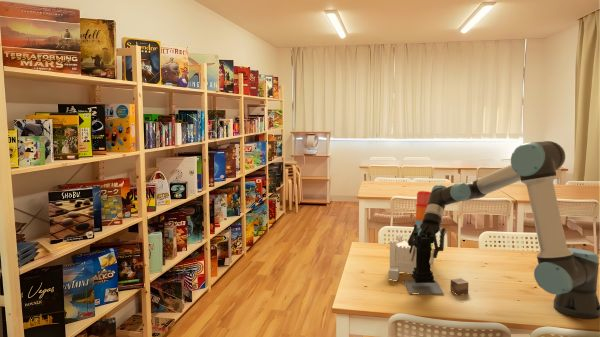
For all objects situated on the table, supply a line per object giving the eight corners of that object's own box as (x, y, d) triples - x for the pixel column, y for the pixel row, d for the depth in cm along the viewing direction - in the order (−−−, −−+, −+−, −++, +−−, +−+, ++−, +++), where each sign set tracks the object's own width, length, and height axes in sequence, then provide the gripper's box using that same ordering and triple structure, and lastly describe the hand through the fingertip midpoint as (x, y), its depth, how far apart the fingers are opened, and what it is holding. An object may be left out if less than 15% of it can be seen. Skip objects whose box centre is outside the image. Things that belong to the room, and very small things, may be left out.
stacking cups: (407, 257, 229) (408, 191, 225) (423, 254, 233) (424, 189, 229) (421, 263, 220) (422, 194, 215) (437, 260, 224) (438, 192, 220)
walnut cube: (468, 294, 183) (468, 282, 182) (457, 295, 181) (457, 283, 181) (460, 289, 188) (461, 278, 187) (450, 290, 186) (450, 279, 186)
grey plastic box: (397, 282, 197) (397, 271, 196) (388, 281, 198) (388, 270, 198) (399, 277, 202) (399, 266, 202) (390, 276, 204) (390, 265, 203)
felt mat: (443, 294, 182) (443, 293, 182) (409, 294, 183) (409, 292, 183) (436, 281, 196) (436, 280, 196) (403, 281, 197) (403, 280, 197)
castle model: (388, 271, 210) (388, 241, 208) (396, 262, 222) (397, 233, 220) (418, 276, 203) (419, 244, 201) (425, 266, 215) (426, 236, 214)
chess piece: (434, 282, 185) (436, 236, 183) (415, 282, 185) (416, 236, 183) (429, 275, 193) (430, 231, 191) (411, 275, 193) (412, 231, 191)
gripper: (458, 224, 193) (447, 270, 182) (412, 218, 205) (399, 262, 194) (455, 214, 188) (443, 262, 177) (408, 209, 200) (394, 253, 188)
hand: (420, 262), depth 185 cm, fingers closed on chess piece, 8 cm apart
